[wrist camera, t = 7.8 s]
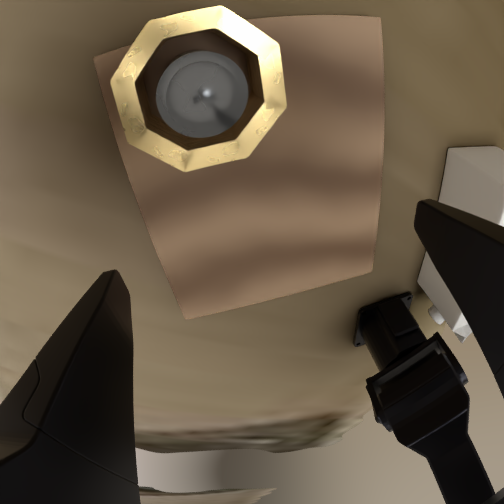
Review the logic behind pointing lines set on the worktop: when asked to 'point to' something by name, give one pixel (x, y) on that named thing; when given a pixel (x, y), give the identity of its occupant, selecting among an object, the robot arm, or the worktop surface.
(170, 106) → the steel post
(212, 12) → the brass ring
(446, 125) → the worktop surface
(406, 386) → the robot arm
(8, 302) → the worktop surface
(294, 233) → the copper plate
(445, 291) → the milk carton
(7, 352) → the worktop surface
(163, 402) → the worktop surface
